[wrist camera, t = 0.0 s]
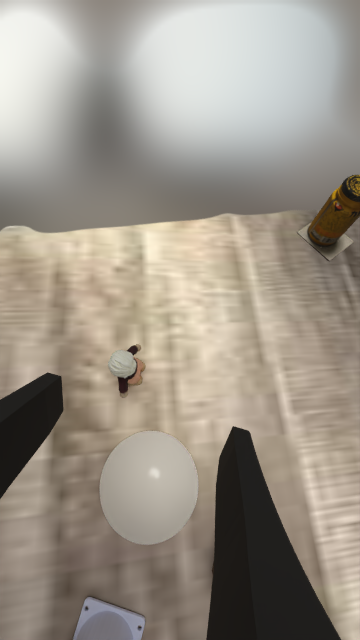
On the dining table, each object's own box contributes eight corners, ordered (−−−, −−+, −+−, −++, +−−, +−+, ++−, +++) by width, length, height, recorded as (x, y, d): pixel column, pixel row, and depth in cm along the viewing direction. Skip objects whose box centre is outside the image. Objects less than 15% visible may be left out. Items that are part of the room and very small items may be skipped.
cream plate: (183, 556, 35) (183, 559, 34) (86, 523, 36) (84, 525, 36) (207, 445, 40) (208, 446, 39) (120, 419, 41) (119, 419, 40)
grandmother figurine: (125, 352, 44) (105, 329, 32) (147, 352, 44) (136, 330, 32) (120, 399, 42) (97, 394, 30) (144, 400, 42) (131, 394, 30)
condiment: (321, 215, 54) (358, 163, 43) (353, 242, 52) (401, 195, 41) (296, 232, 53) (329, 184, 42) (328, 261, 51) (371, 218, 39)
